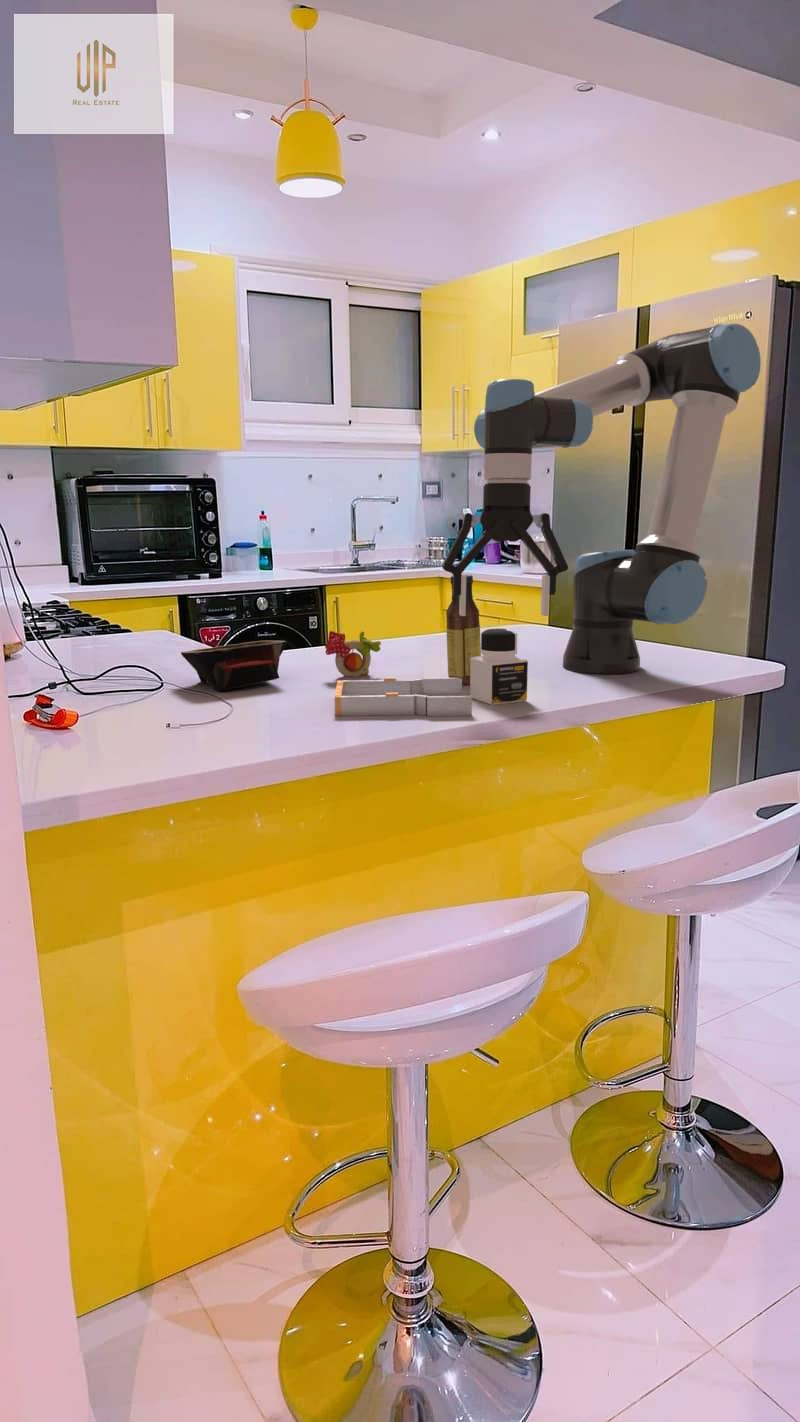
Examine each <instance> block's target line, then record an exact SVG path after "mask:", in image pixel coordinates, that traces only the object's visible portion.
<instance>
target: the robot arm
mask: <svg viewBox="0 0 800 1422" xmlns="http://www.w3.org/2000/svg"><path fill="white" fill-rule="evenodd" d="M761 362H762V359H761V351H760V348H759V346H758V343H757V339H756V338H755V336H754V335H753V332H751V330H749V329H748V328H747V327H745V326H744V325H743V324H739V323H728V324H721V323H720V324H716V325H713V326H709V327H706V328H701V329H695V330H690V331H685V332H679V333H674V334H670V335H669V334H668V335H667V336H663V337H661V338H659V339H657V340H654V341H653V342H650V343H648V344H646V345H643V346H641V347H639V348H637V349H634V350H633V351H630V352H628V353H625V354H622V355H620V356H619V357H618V358H616V360H615V361H614V362H613V364H612V365H609V366H608V365H607V366H606V367H604V368H601V369H598V370H595V371H592V372H590V373H587V374H585V375H584V374H583V375H582V376H579V377H576V378H574V379H571V380H568V381H566V382H563V383H560V384H557V385H555V386H553V387H549V388H546V389H544V390H542V391H541V390H540V391H539V392H535V385H534V383H533V382H532V381H531V380H528V379H524V378H505V379H504V378H503V379H497V380H493V381H491V382H489V384H488V385H487V387H486V393H485V402H484V403H485V405H484V409H482V411H481V412H480V413H479V414H478V415H477V416H476V417H475V418H476V419H475V421H474V426H473V431H474V432H473V433H474V437H475V440H476V442H477V444H478V445H479V447H481V448H482V449H483V450H484V460H483V463H484V464H483V479H484V481H487V483H485V484H484V485H483V489H482V491H483V496H482V500H483V501H482V513H481V514H479V515H478V514H472V513H470V512H466V513H464V514H463V517H462V525H461V528H460V530H459V532H458V534H457V536H456V538H455V540H454V541H453V544H452V546H451V548H450V550H449V551H448V553H447V556H446V558H445V559H444V561H443V564H442V569H443V571H444V572H448V573H451V574H452V576H453V592H454V594H455V595H460V603H459V614H460V616H466V575H467V574H463V572H464V571H465V570H466V569H467V567H468V566H469V565H470V564H471V563H472V561H474V560H475V558H476V557H477V556H478V555H479V554H480V552H481V551H482V550H483V549H484V548H485V546H486V545H488V544H489V543H490V541H491V540H493V541H494V542H496V543H497V542H501V543H502V542H505V541H507V542H517V541H519V540H520V541H521V542H522V543H523V544H524V545H525V546H526V548H527V549H528V550H529V552H530V553H531V554H532V555H533V557H534V558H535V559H536V560H537V562H538V563H539V565H540V566H542V568H543V569H544V570H545V572H546V574H541V596H540V597H541V600H540V601H541V602H540V615H541V616H543V617H549V611H550V596H555V594H556V592H557V591H556V590H557V588H556V587H557V575H558V574H560V573H564V572H566V571H568V569H569V566H568V563H567V561H566V559H565V557H564V554H563V552H562V549H561V548H560V545H559V543H558V541H557V539H556V536H555V535H554V532H553V529H552V528H551V517H550V514H549V513H546V512H544V513H543V512H542V513H541V514H535V515H532V512H531V490H532V489H531V488H532V487H531V485H530V483H528V481H530V480H531V479H532V456H533V455H532V454H533V449H540V448H553V447H557V448H558V447H559V448H560V447H561V448H565V449H566V448H567V449H568V448H577V447H580V446H582V445H584V444H585V443H586V442H587V441H588V439H589V438H590V436H591V435H592V432H593V428H594V425H593V424H594V417H596V416H599V415H602V414H604V413H606V412H608V411H609V412H610V411H611V410H613V409H616V408H619V407H622V406H624V405H625V406H628V407H636V406H638V405H639V406H640V405H641V404H644V403H648V402H654V401H655V402H656V401H665V400H671V402H672V404H674V406H675V407H676V410H677V411H676V414H675V418H674V422H673V427H672V430H671V435H670V439H669V443H668V448H667V452H666V455H665V461H664V465H663V468H662V473H661V478H660V481H659V485H658V489H657V493H656V498H655V503H654V506H653V511H652V515H651V518H650V524H649V528H648V530H647V531H648V532H647V536H646V537H645V538H643V539H642V540H641V541H639V542H638V543H636V546H635V549H619V550H617V549H616V550H608V551H599V552H598V551H597V552H588V553H582V554H581V555H579V556H578V557H577V558H576V561H575V565H574V567H575V568H574V574H573V607H572V609H573V610H572V611H573V613H572V614H573V616H572V617H573V619H572V631H571V633H570V636H569V640H568V642H567V645H566V648H565V650H564V653H563V657H562V668H563V669H565V670H569V671H572V672H577V673H584V674H585V673H586V674H598V675H599V674H601V675H602V674H603V675H605V674H606V675H613V674H614V675H615V674H616V675H617V674H618V675H619V674H628V673H634V672H637V671H639V670H641V669H640V668H641V656H640V653H639V649H638V645H637V642H636V638H635V635H634V631H633V629H634V627H633V625H634V621H641V622H648V623H649V622H650V623H653V624H657V625H666V624H668V625H678V624H682V623H685V622H686V621H688V620H689V618H692V617H693V616H694V615H695V614H696V613H697V611H699V609H700V608H701V606H702V604H703V602H704V600H705V597H706V594H707V589H708V579H706V576H707V574H706V571H705V569H704V567H703V566H702V565H701V564H700V559H701V555H700V553H699V551H698V550H697V548H696V546H695V543H696V539H697V535H698V531H699V528H700V527H699V526H700V523H701V518H702V515H703V511H704V506H705V502H706V499H707V498H706V497H707V493H708V489H709V485H710V482H711V477H712V473H713V470H714V469H713V468H714V464H715V461H716V456H717V453H718V449H719V444H720V441H721V436H722V433H723V432H722V431H723V427H724V424H725V419H726V417H727V416H728V415H729V414H730V413H732V412H734V411H735V410H736V409H737V406H738V403H739V399H740V395H741V393H745V392H746V391H749V390H750V389H752V387H753V386H754V385H755V384H756V383H757V381H758V379H759V376H760V373H761V366H762V365H761V364H762V363H761ZM479 522H480V524H481V526H482V527H483V529H484V532H483V533H482V534H481V536H479V538H478V539H477V541H476V542H475V543H474V544H473V545H472V547H471V548H470V549H469V550H468V551H467V553H465V554H464V556H463V557H462V558H461V560H460V561H459V562H458V563H457V564H456V565H454V564H455V562H456V559H457V557H458V555H459V553H460V551H461V549H462V547H463V545H464V543H465V542H466V539H467V538H468V535H469V533H470V531H471V528H472V529H473V528H475V527H476V526H477V523H479ZM533 523H535V526H536V527H537V528H539V529H540V531H541V533H542V537H543V538H544V540H545V542H546V544H547V547H548V550H549V551H550V554H551V556H552V558H553V560H554V562H555V565H554V564H553V563H552V562H551V560H550V559H549V558H548V557H547V556H546V554H545V553H544V552H543V550H541V548H540V547H539V546H538V545H537V543H536V542H535V540H534V539H533V537H532V536H531V535H530V534H529V532H528V530H529V528H530V527H531V526H532V524H533Z"/></svg>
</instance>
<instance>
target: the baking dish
mask: <svg viewBox="0 0 800 1422" xmlns="http://www.w3.org/2000/svg"><path fill="white" fill-rule="evenodd" d="M287 645H288V642H287V641H286V640H257V641H249V642H248V641H247V642H241V643H237V644H228V645H220V646H214V647H213V646H212V647H205V648H198V649H192V650H186V651H181V652H180V654H181V656H182V657H183V658H184V659H185V660H186V661H187V663H188V664H189V665H190V666H191V667H192V668H193V669H194V670H195V671H196V674H197V675H198V678H199V681H200V682H203V683H204V682H205V683H207V684H209V685H210V686H211V688H212V689H214V690H216V691H218V692H221V691H227V690H233V689H238V688H241V687H246V686H247V687H248V686H250V685H256V684H260V683H264V682H269V681H274V680H277V679H280V676H279V675H280V674H279V673H278V670H279V664H280V658H281V655H282V653H283V651H284V650H285V648H286V646H287Z"/></svg>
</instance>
